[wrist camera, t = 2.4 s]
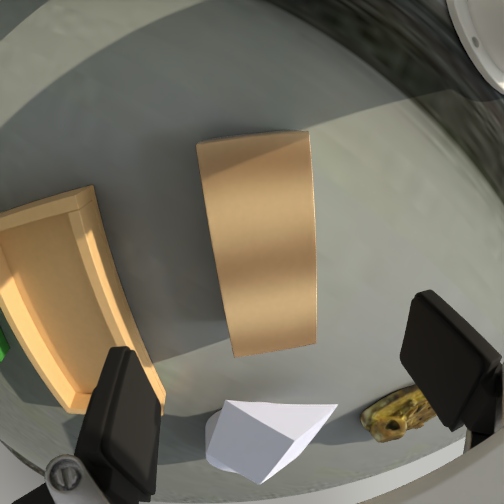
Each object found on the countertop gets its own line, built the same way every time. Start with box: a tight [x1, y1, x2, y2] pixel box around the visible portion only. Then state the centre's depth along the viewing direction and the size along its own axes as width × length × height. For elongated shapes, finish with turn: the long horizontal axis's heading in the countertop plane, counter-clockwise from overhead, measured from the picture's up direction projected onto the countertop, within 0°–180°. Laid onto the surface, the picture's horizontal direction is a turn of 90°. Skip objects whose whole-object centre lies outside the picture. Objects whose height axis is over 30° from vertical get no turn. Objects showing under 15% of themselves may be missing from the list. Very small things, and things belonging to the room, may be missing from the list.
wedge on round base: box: [205, 400, 338, 485], centre depth 22 cm, size 9×7×13 cm
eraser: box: [196, 130, 317, 357], centre depth 16 cm, size 12×5×4 cm, turn 7°
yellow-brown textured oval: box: [360, 385, 437, 443], centre depth 27 cm, size 9×5×15 cm
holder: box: [0, 185, 166, 416], centre depth 18 cm, size 18×10×3 cm, turn 7°
